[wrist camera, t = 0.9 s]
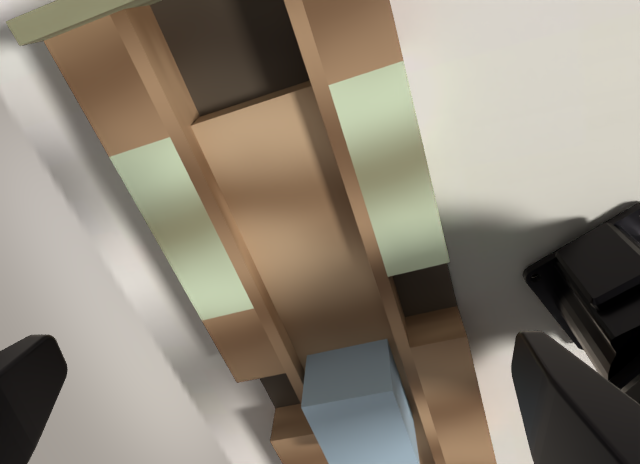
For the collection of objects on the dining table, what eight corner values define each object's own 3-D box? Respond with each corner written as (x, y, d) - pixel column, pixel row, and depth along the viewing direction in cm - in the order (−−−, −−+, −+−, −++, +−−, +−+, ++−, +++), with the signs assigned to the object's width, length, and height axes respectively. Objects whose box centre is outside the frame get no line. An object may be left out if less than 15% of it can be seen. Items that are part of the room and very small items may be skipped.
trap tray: (487, 434, 30) (505, 495, 26) (306, 463, 32) (301, 522, 29) (360, -106, 17) (363, -127, 13) (68, 13, 19) (5, 21, 15)
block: (412, 414, 27) (420, 469, 24) (339, 426, 28) (337, 482, 25) (387, 338, 24) (392, 390, 21) (306, 355, 25) (301, 407, 22)
